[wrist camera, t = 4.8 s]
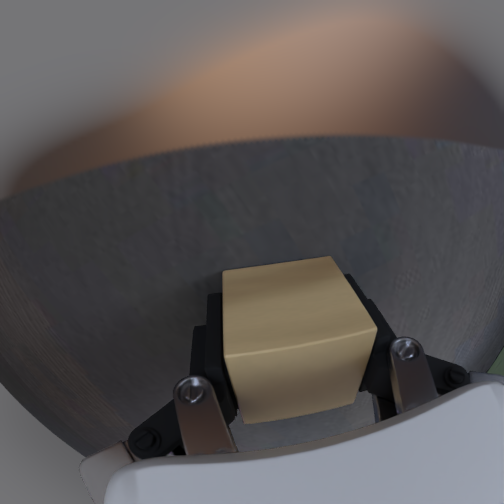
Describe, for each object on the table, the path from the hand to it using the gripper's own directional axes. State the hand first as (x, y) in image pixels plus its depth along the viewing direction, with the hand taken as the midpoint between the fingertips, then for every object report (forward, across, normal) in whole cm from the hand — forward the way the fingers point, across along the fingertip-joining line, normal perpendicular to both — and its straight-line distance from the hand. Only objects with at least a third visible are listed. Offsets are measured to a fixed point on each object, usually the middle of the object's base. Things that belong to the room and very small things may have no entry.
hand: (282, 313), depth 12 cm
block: (+1, 0, 0) cm, 1 cm away
